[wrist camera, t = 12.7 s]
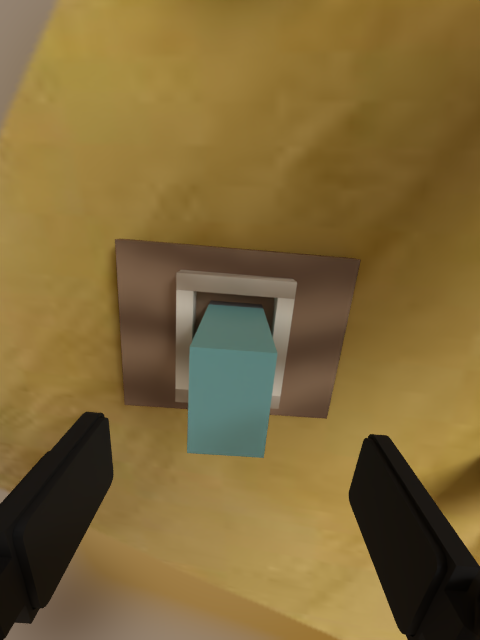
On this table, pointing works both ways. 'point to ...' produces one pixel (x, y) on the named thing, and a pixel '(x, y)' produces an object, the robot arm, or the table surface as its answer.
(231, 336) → the plug
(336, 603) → the table surface
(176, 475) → the table surface
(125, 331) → the socket block
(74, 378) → the table surface
